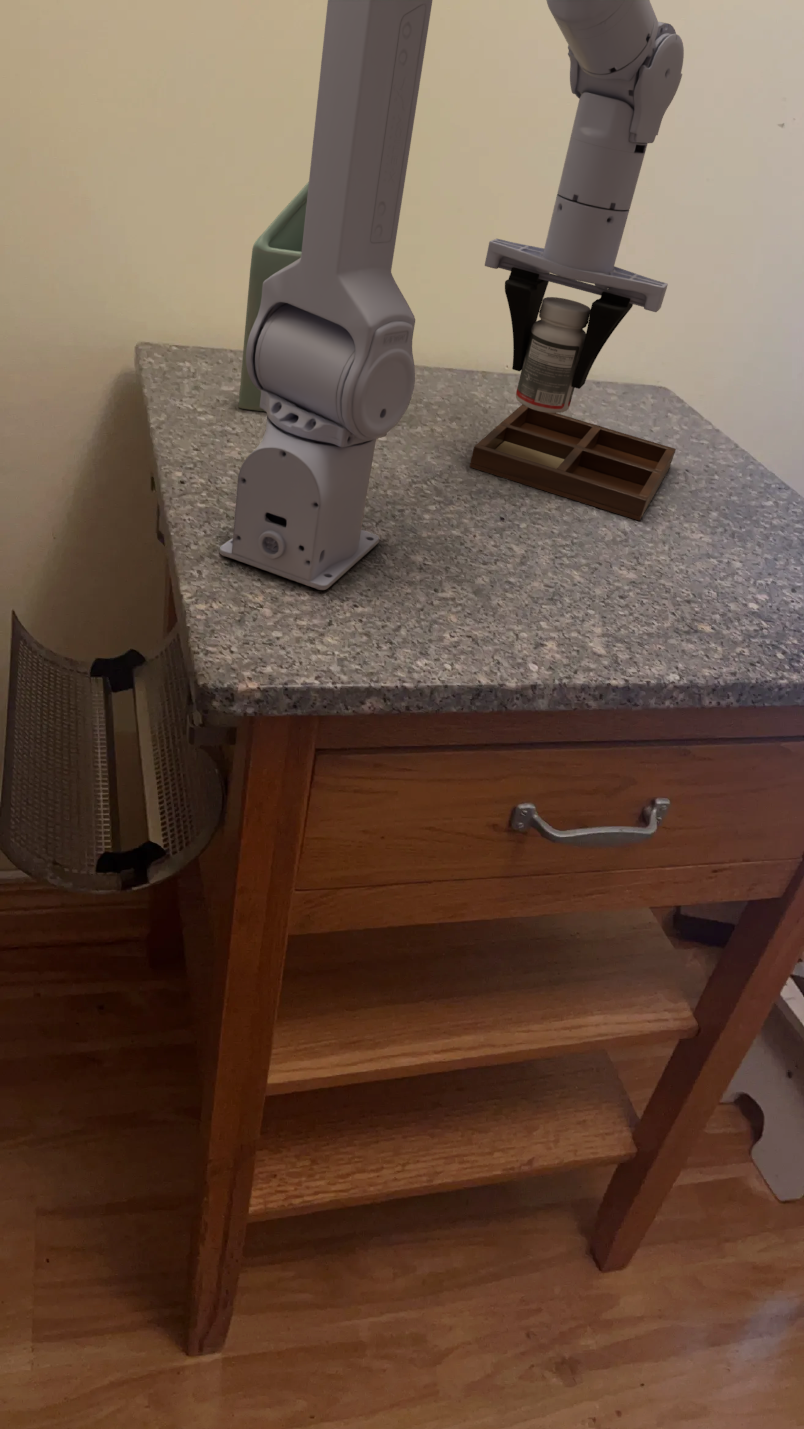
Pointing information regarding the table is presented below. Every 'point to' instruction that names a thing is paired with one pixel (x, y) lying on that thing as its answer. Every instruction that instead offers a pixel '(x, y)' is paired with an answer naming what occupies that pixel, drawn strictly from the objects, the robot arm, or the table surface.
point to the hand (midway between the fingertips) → (548, 376)
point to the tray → (575, 460)
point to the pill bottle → (553, 355)
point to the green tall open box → (268, 258)
